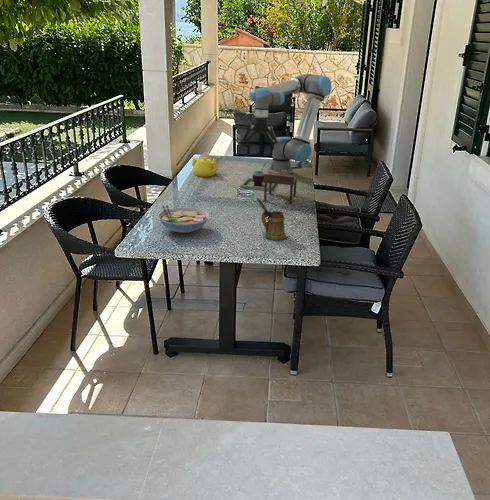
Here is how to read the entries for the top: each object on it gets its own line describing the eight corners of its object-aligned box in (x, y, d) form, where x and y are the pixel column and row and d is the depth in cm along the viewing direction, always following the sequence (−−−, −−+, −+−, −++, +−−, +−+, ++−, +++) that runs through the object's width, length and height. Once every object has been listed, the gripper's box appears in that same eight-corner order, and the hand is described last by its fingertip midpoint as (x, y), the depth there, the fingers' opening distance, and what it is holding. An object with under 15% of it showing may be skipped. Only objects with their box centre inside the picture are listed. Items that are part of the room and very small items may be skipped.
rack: (268, 193, 289) (270, 167, 283) (296, 196, 286) (298, 170, 280) (263, 201, 274) (264, 174, 268) (292, 204, 271) (293, 177, 266)
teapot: (228, 173, 324) (228, 156, 319) (210, 179, 309) (210, 161, 305) (203, 168, 333) (203, 151, 329) (185, 173, 319) (184, 156, 315)
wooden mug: (254, 232, 230) (256, 194, 223) (284, 233, 231) (286, 195, 224) (255, 240, 222) (257, 200, 215) (286, 240, 223) (288, 201, 216)
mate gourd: (249, 184, 302) (250, 160, 296) (258, 182, 308) (259, 158, 302) (258, 187, 298) (259, 162, 292) (267, 185, 303) (268, 160, 297)
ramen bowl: (213, 239, 220) (213, 221, 217) (160, 242, 214) (159, 224, 211) (204, 219, 242) (204, 203, 239) (155, 222, 236) (154, 205, 233)
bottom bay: (247, 180, 312) (247, 177, 312) (276, 182, 309) (276, 180, 309) (240, 187, 296) (240, 185, 295) (270, 190, 293) (270, 188, 292)
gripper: (238, 116, 286) (237, 153, 294) (281, 119, 282) (279, 157, 290) (241, 114, 292) (240, 150, 301) (284, 117, 288) (281, 154, 297)
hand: (259, 154), depth 295 cm, fingers open, 13 cm apart
